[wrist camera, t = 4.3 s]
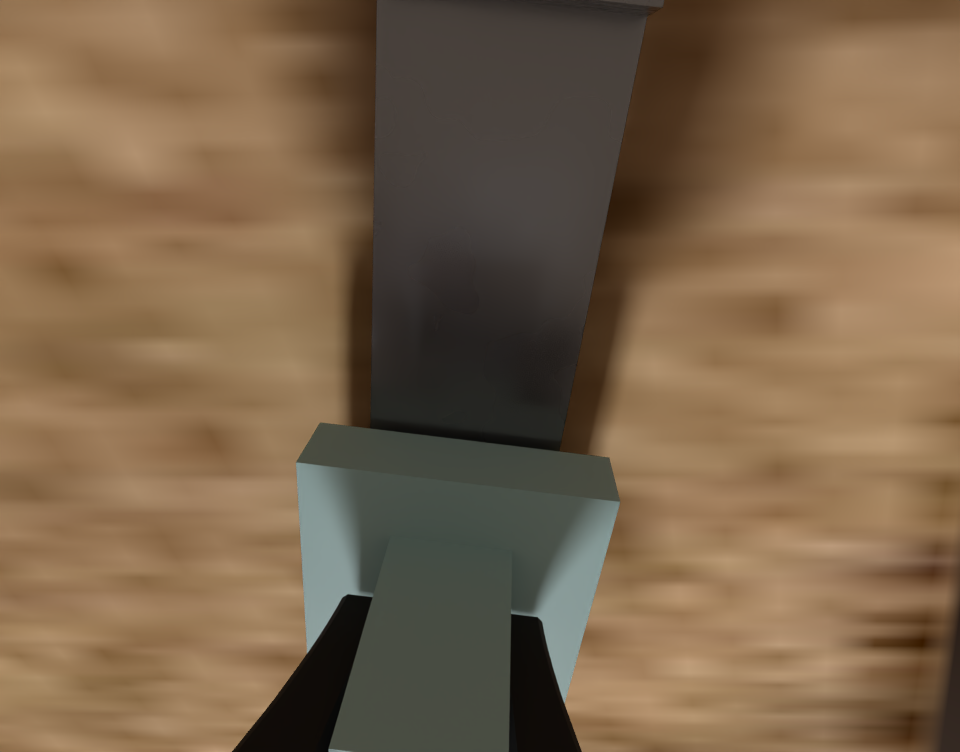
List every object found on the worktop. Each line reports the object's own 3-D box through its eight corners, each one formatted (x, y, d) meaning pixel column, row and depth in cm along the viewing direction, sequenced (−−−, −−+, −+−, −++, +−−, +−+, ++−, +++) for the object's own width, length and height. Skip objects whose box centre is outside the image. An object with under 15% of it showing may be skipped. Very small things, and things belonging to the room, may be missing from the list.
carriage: (326, 621, 14) (228, 890, 9) (320, 422, 12) (178, 657, 7) (560, 650, 14) (581, 934, 9) (608, 457, 11) (673, 719, 7)
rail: (373, 794, 21) (356, 877, 19) (398, -72, 9) (360, -126, 7) (479, 807, 21) (475, 892, 19) (643, -46, 9) (682, -90, 7)
